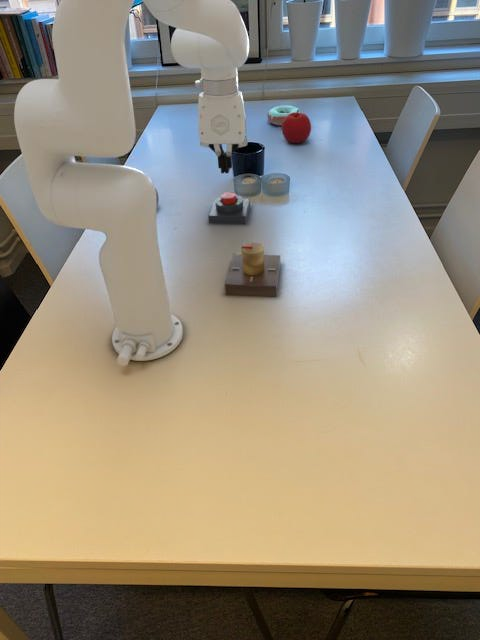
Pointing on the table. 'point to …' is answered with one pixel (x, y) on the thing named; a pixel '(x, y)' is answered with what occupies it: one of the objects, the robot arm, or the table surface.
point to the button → (228, 198)
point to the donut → (280, 114)
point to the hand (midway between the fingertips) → (225, 171)
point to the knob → (253, 258)
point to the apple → (296, 127)
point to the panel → (253, 278)
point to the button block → (229, 212)
